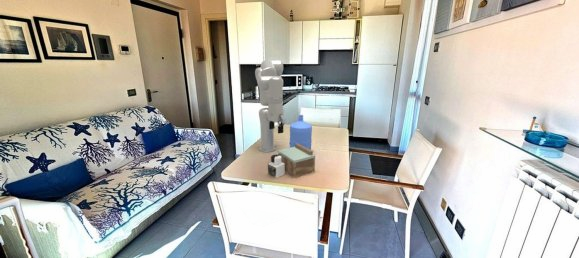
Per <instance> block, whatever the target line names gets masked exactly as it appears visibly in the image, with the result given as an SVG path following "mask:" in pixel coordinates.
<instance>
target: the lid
mask: <svg viewBox="0 0 579 258" xmlns="http://www.w3.org/2000/svg"><path fill="white" fill-rule="evenodd" d="M278 153H279V154H281V155H282V156H284V157H285V158H287V159H288V160H290V161H292V162H293V163H297V162H300V161H304V160H308V159H312V158H315V159H316V154H314V150H312V149H311V150H310V149H308V148H306V147H304V146H302V145H300V144H298V143H297V144H295V147H291V148H290V147H287V148H282V149H279V150H277V154H278Z"/></svg>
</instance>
